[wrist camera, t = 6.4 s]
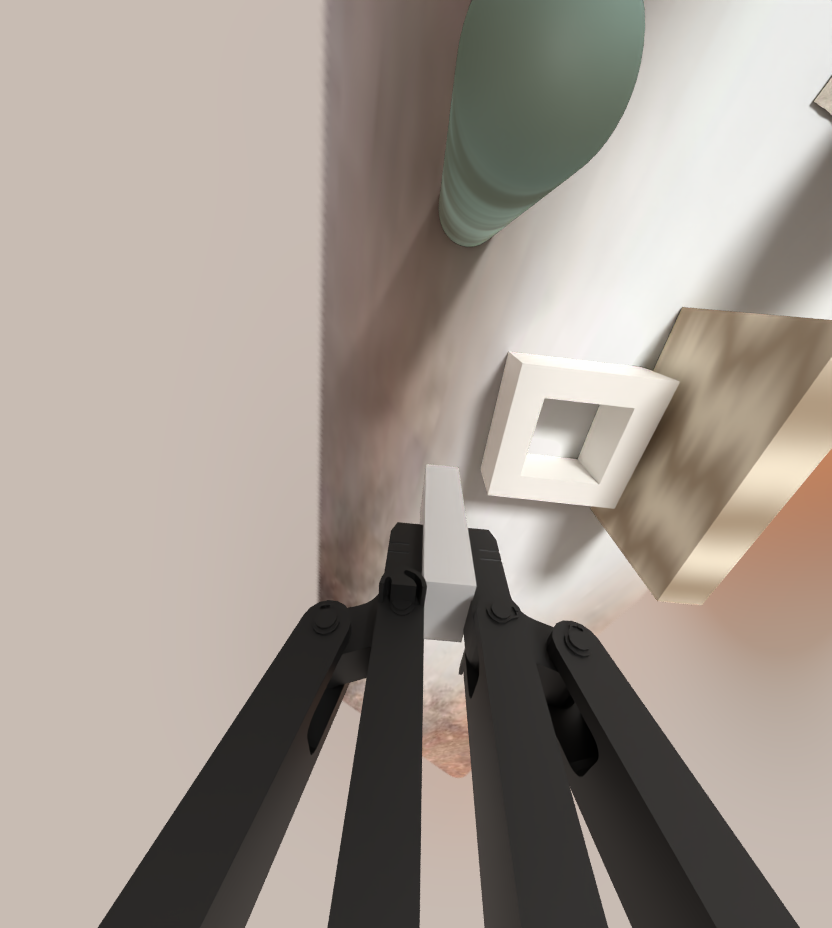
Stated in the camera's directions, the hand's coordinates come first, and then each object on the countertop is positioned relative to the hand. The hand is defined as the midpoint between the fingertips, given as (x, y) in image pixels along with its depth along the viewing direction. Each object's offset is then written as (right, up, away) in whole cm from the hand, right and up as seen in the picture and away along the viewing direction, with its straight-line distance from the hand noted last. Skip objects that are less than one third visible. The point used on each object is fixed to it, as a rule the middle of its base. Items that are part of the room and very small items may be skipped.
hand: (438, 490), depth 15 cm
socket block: (+10, +5, +11) cm, 15 cm away
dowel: (+2, +17, +4) cm, 17 cm away
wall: (+17, +4, +10) cm, 21 cm away
